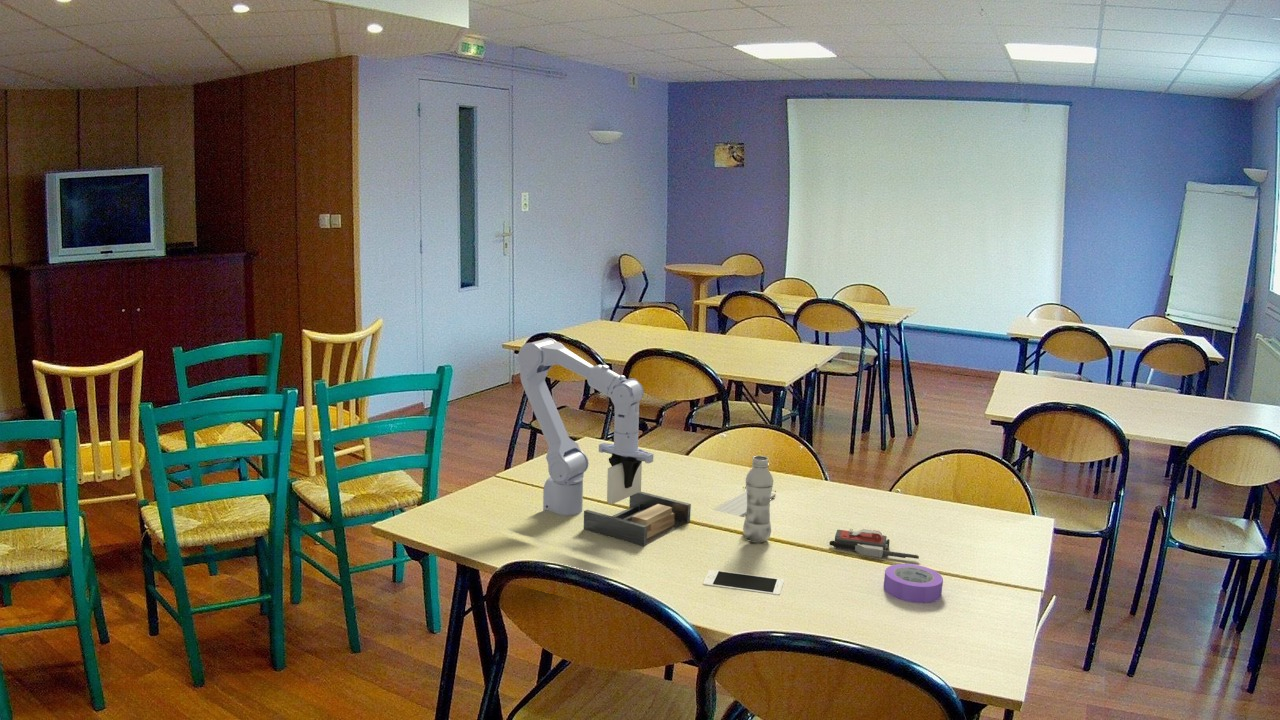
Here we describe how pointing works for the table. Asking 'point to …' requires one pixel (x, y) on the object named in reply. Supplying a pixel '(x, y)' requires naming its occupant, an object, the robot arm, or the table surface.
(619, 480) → the white block
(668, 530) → the rack
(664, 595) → the table surface
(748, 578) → the cell phone
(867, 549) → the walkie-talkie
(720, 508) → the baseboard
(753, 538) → the plastic bottle
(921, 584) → the masking tape
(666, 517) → the offcut stack
